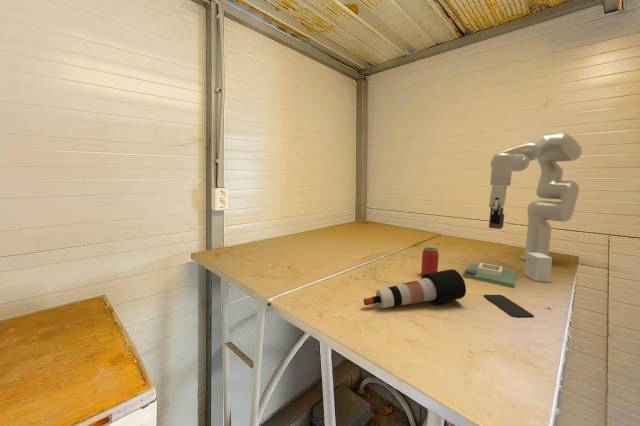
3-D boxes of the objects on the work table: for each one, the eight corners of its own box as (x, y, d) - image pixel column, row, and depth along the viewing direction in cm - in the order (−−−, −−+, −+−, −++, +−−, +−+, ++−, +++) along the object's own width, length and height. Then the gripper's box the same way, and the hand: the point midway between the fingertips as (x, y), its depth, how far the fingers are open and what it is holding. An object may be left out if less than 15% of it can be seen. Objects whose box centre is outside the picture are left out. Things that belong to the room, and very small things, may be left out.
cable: (363, 317, 89) (356, 287, 92) (451, 298, 96) (442, 271, 99) (373, 319, 80) (365, 285, 83) (470, 298, 86) (459, 267, 89)
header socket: (480, 267, 122) (481, 262, 122) (502, 272, 117) (502, 266, 116) (477, 272, 116) (478, 267, 115) (500, 277, 110) (501, 271, 110)
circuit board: (470, 266, 129) (470, 261, 129) (515, 274, 118) (516, 269, 117) (462, 276, 115) (463, 271, 115) (513, 287, 104) (514, 281, 104)
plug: (490, 226, 122) (492, 207, 121) (503, 228, 118) (505, 208, 117) (488, 227, 118) (490, 207, 117) (502, 229, 115) (504, 208, 114)
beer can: (437, 274, 118) (439, 248, 116) (436, 279, 112) (438, 251, 110) (421, 271, 121) (423, 246, 119) (420, 276, 115) (422, 250, 113)
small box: (549, 282, 109) (553, 258, 108) (534, 281, 110) (537, 257, 109) (538, 275, 117) (541, 252, 116) (524, 274, 118) (526, 251, 117)
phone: (512, 316, 81) (482, 294, 96) (512, 318, 82) (481, 296, 96) (536, 316, 82) (501, 294, 96) (535, 318, 82) (501, 296, 97)
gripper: (492, 182, 125) (488, 220, 127) (487, 181, 112) (483, 224, 114) (512, 182, 120) (507, 222, 122) (509, 182, 107) (503, 226, 109)
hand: (495, 222), depth 118 cm, fingers closed on plug, 4 cm apart
